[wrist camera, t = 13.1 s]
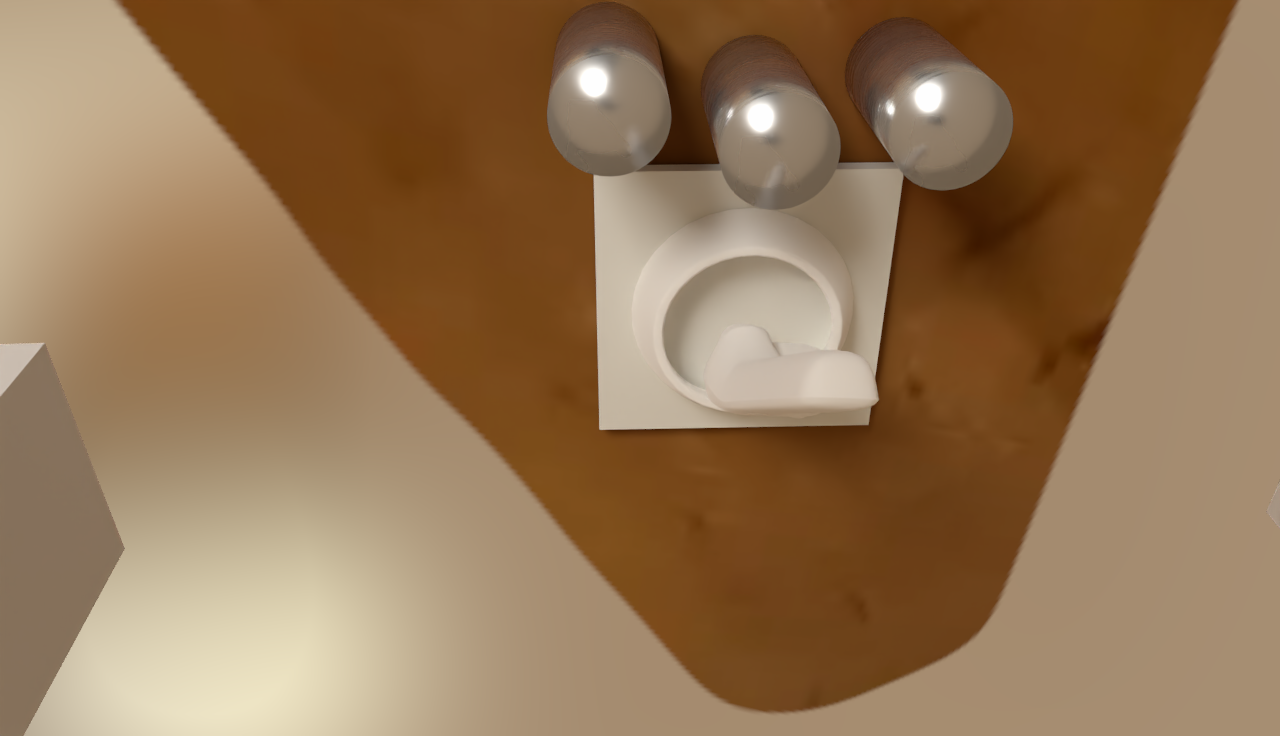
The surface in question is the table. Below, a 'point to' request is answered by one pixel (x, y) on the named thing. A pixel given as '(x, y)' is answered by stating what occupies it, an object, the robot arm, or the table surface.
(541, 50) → the table surface
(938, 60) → the cylinder
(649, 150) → the cylinder
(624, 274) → the felt pad
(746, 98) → the spacer
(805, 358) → the hook
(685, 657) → the table surface
